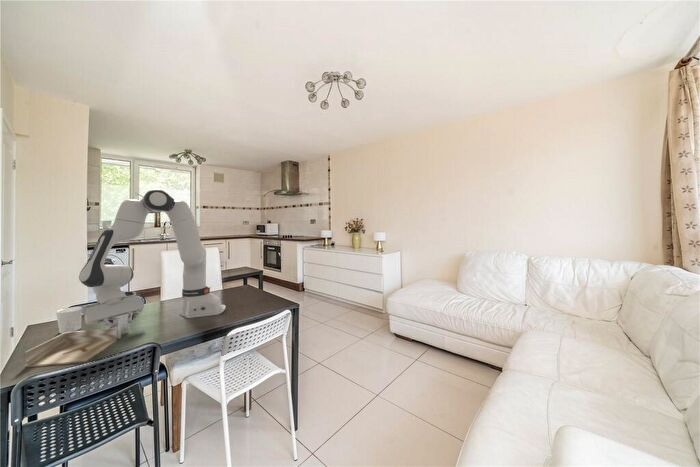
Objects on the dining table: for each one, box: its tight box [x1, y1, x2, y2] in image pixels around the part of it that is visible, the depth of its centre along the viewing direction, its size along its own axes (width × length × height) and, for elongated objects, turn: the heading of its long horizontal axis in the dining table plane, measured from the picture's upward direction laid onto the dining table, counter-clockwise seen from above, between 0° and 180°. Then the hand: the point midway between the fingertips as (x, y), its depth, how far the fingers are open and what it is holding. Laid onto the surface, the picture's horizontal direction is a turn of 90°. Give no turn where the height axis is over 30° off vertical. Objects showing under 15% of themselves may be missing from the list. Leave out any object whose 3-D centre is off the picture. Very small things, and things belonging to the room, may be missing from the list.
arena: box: [23, 328, 117, 368], centre depth 98 cm, size 18×16×6 cm
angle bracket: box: [112, 314, 129, 340], centre depth 112 cm, size 5×5×9 cm
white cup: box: [55, 306, 83, 334], centre depth 117 cm, size 8×8×10 cm
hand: (121, 324), depth 113 cm, fingers closed on angle bracket, 5 cm apart
